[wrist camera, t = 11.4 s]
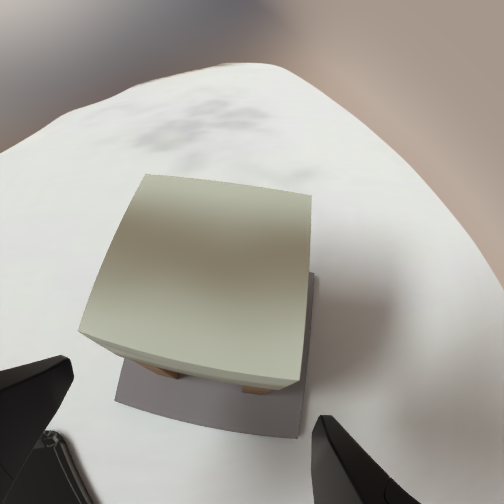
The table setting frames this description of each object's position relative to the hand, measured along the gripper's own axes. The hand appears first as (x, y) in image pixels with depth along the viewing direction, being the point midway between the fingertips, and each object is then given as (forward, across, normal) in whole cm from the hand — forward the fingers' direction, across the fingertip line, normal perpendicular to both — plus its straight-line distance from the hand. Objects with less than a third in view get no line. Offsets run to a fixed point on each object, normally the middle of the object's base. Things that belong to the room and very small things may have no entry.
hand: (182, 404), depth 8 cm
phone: (-3, +13, +15) cm, 20 cm away
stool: (+8, 0, +2) cm, 8 cm away
